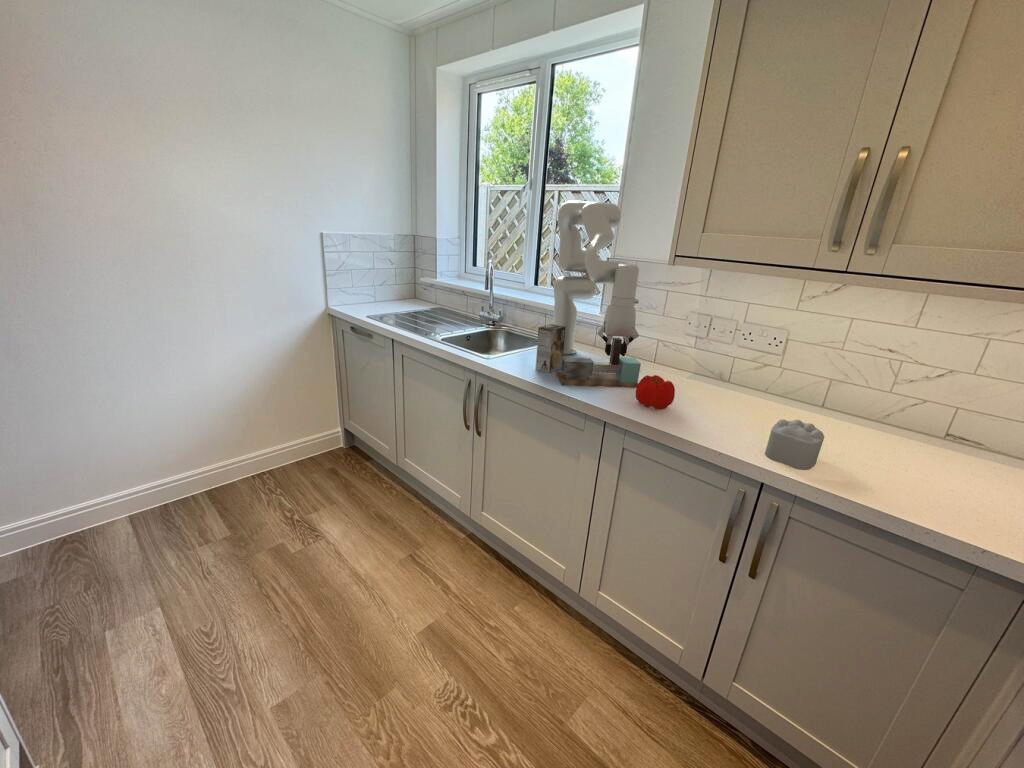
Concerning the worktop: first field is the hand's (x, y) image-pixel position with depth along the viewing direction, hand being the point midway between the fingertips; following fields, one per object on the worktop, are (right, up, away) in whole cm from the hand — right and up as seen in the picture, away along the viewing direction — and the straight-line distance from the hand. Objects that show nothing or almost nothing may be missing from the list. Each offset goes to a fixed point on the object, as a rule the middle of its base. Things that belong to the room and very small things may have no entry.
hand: (615, 354), depth 154 cm
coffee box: (-22, -5, +13) cm, 26 cm away
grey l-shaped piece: (-2, -6, +2) cm, 7 cm away
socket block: (+5, -9, +4) cm, 11 cm away
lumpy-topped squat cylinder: (+34, -28, -43) cm, 62 cm away
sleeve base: (-6, -9, +3) cm, 11 cm away
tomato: (+8, -17, -17) cm, 25 cm away
